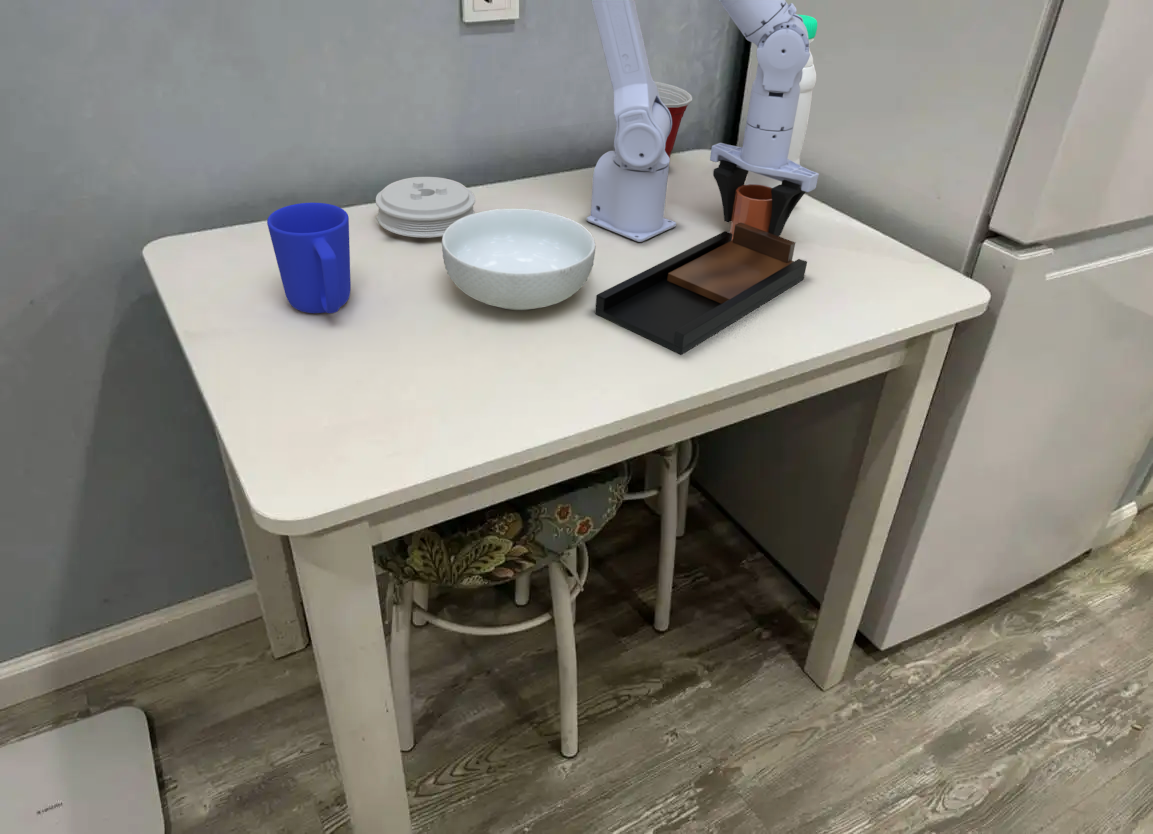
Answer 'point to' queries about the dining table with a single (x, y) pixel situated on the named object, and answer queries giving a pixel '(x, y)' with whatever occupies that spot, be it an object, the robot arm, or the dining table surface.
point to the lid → (423, 206)
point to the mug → (312, 255)
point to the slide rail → (686, 301)
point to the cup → (752, 207)
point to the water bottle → (801, 113)
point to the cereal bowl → (518, 257)
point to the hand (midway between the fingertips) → (752, 228)
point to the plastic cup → (673, 109)
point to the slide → (735, 264)
